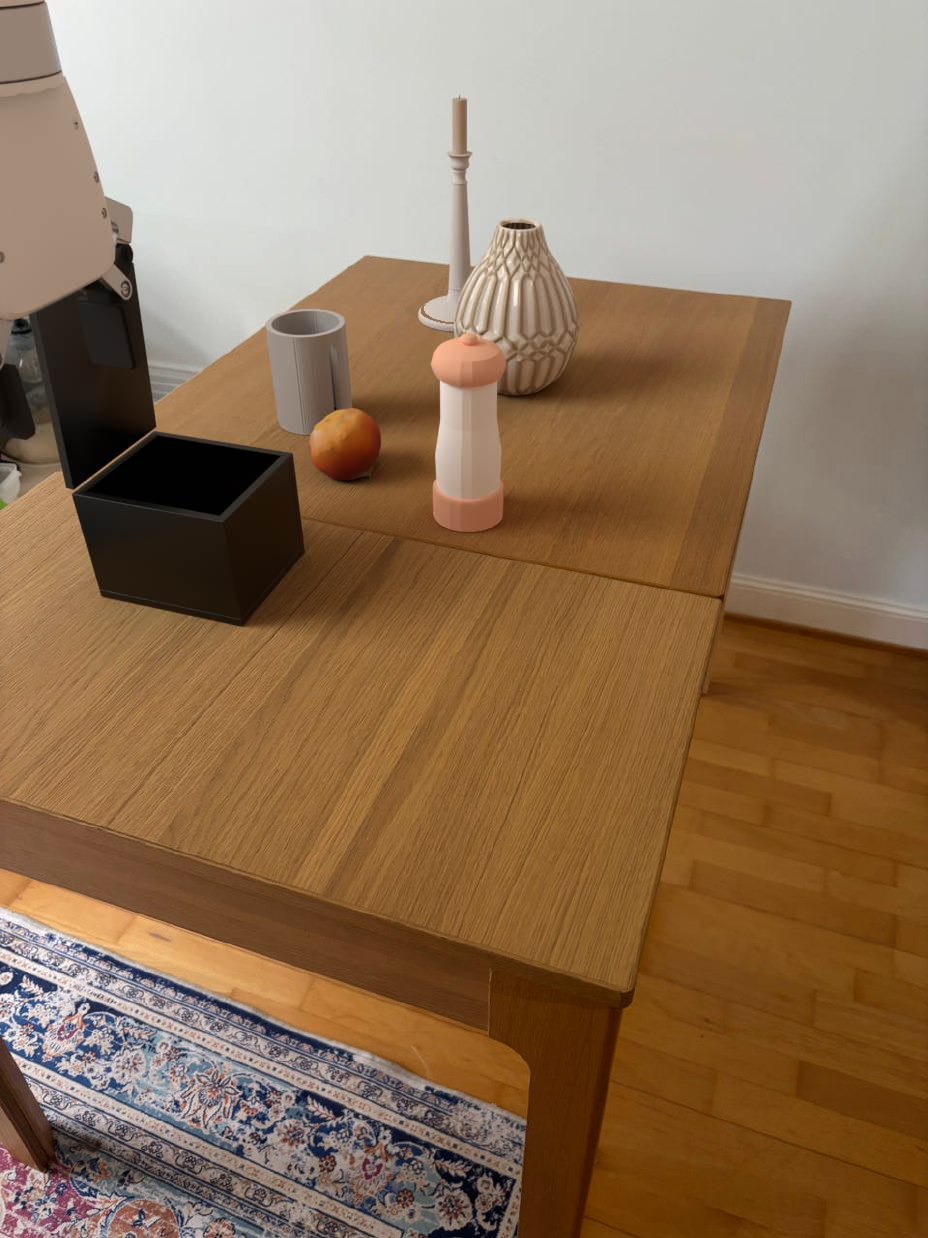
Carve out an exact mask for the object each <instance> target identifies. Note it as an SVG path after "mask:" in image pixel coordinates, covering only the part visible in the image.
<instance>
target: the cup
mask: <svg viewBox="0 0 928 1238" xmlns="http://www.w3.org/2000/svg"><path fill="white" fill-rule="evenodd" d="M346 324H347V323H346V319H345V317H344V316H343V315H342V314H340V313H339V312H335V311H332V310H327V309H321V308H320V309H319V308H300V309H292V310H287V311H284V312H280V313H278V314H274V315H273V316H271V317H270V318H268V319H267V321H265V325H264V326H265V334H266V340H267V341H266V342H267V349H268V350H267V351H268V356H269V362H270V372H271V379H272V387H273V394H274V402H275V408H276V416H277V423H278V425H279V427H280V428H281V429H282V430H284V431H286V432H288V433H291V434H294V435H301V436H310V435H311V433H312V432H313V430H314V428H315V425H316V424H318V423H319V422H320V421H322V420H323V419H324V418H325V417H326V416H327V415H329V414H331V413H333V412H334V411H335V408H336V411H337V410H343V409H350V408H353V402H352V389H351V375H350V363H349V362H350V361H349V350H348V339H347V325H346Z"/></svg>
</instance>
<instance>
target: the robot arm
mask: <svg viewBox="0 0 928 1238" xmlns="http://www.w3.org/2000/svg"><path fill="white" fill-rule="evenodd" d="M53 28H54V27H53V24H52V19H51V15H50V11H49V6H48V2H47V1H46V0H0V436H1V437H5V438H11V439H17V440H21V441H22V440H23V441H27V440H28V441H29V439H31V438H33V437H34V436H35V435H36V430H37V429H36V428H37V427H36V425H35V421H34V418H33V415H32V411H31V408H30V404H29V401H28V398H27V395H26V391H25V388H24V385H23V382H22V378H21V375H20V371H19V369H18V367H17V365H16V364H13V363H5V362H6V357H7V352H8V348H9V344H10V339H11V335H12V329H13V325H14V321H15V320H19V319H23V318H22V317H24V316H27V315H29V314H31V313H33V312H35V311H37V310H39V309H41V308H43V307H45V306H47V305H49V304H51V303H53V302H55V301H57V300H59V299H61V298H63V297H65V296H67V295H69V294H71V293H73V292H75V291H77V290H80V291H81V292H82V293H83V294H85V295H86V296H87V297H82V296H81V297H79V298H77V299H76V301H77V305H78V311H79V315H80V319H81V323H82V327H83V331H84V335H85V339H86V343H87V347H88V351H89V355H90V359H91V361H92V362H93V363H94V364H96V365H101V366H108V367H115V368H122V369H129V370H134V369H136V368H137V367H139V366H140V365H141V360H140V355H139V351H138V346H137V342H136V337H135V333H134V328H133V323H132V319H131V314H130V310H129V305H128V302H124V300H128V299H129V298H130V297H131V295H132V285H131V282H130V281H129V280H128V276H129V272H130V268H131V265H132V263H133V261H134V250H133V248H132V246H131V244H132V239H133V225H134V214H133V213H134V212H133V210H132V208H131V207H130V206H129V205H127V204H124V203H122V202H120V201H118V200H115V199H114V198H113V199H112V198H111V197H108V196H106V195H105V192H104V187H103V185H102V181H101V178H100V174H99V169H98V167H97V163H96V159H95V157H94V153H93V150H92V146H91V144H90V140H89V137H88V134H87V131H86V128H85V125H84V122H83V119H82V116H81V114H80V111H79V107H78V105H77V103H76V99H75V97H74V94H73V92H72V90H71V87H70V85H69V82H68V80H67V77H66V76H64V74H63V69H62V63H61V60H60V56H59V55H60V54H59V51H58V46H57V41H56V37H55V33H54V29H53Z"/></svg>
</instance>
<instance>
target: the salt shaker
mask: <svg viewBox="0 0 928 1238" xmlns="http://www.w3.org/2000/svg"><path fill="white" fill-rule="evenodd" d="M430 367H431V369H432V372H433V373H434V375H435V377H436V379H437V380H438V381H439V416H440V417H439V419H440V420H439V427H438V434H437V440H436V446H435V452H434V459H435V462H434V463H435V477H436V478H435V479H434V481H433V483H432V484H433V485H432V517H433V519H434V521H435V522H436V523H437V524H438V525H440V526H441V527H444V528H446V529H447V530H450V531H456V532H459V533H476V532H483V531H486V530H490V529H492V528H494V527H495V526H497V525H498V524H499V523H500V522H501V521H502V520H503V517H504V493H505V492H504V487H505V485H504V482H503V481H502V479H501V467H502V455H503V454H502V451H503V450H502V446H501V439H500V430H499V425H498V417H497V416H498V415H497V414H498V411H497V410H498V393H497V381H498V380H499V379H500V378H501V377H502V375H503V373H504V371H505V368H506V359H505V355H504V353H503V352H502V350H501V349H500V347H499V346H498V345H497V344H496V343H494V342H492V341H489V340H486V339H483V338H480V337H476V335H475V334H472V333H465V334H463V335H462V336H461V337H458V338H450V339H449V340H446V341H443V342H441V343H440V344H439V345H438V346H437V347H436V349H435V350H434V351H433V355H432V359H431V362H430Z"/></svg>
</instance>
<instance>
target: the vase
mask: <svg viewBox="0 0 928 1238" xmlns="http://www.w3.org/2000/svg"><path fill="white" fill-rule="evenodd" d="M573 292H574V291H573V290H572V286H571V285H570V282H569V280H568V278H567V276H566V275H565V272H564V271H563V268H562V267H561V266H560V263H558V261H557V260H556V258H555V257H554V255H553V254H552V252H551V250H550V249H549V246H548V243H547V239H546V236H545V231H544V227H543V225H542V223H541V222H539V221H537V220H534V219H530V218H518V217H517V218H516V217H515V218H508V219H503V220H500V221H499V222H498V223H497V224H496V226H495V229H494V231H493V235H492V238H491V241H490V243H489V246H488V248H487V250H486V251H485V253H484V254H483V256H481V258H480V259H479V261H478V262H477V263H476V265H475V266H474V268H473V269H472V270H471V274H470V276H469V277H468V279H467V281H466V283H465V285H464V287H463V289H462V292H461V294H460V297H459V300H458V304H457V308H456V312H455V317H454V332H453V337H454V338H458V337H461V336H462V335H463V334H465V333H472V334H475V335H476V337H480V338H483V339H486V340H489V341H492V342H494V343H496V344H497V345H498V346H499V347H500V349H501V350H502V352H503V353H504V355H505V359H506V368H505V371H504V373H503V375H502V377H501V378H500V379H499V380H498V381H497V394H500V395H505V396H506V395H507V396H524V395H525V396H526V395H531V394H535V393H537V392H540V391H542V390H543V389H545V388H547V387H548V386H549V385H552V383H554V382H555V381H556V380H557V379H558V378H559V377H560V376H562V374H563V373H564V371H565V370H566V368H567V367H568V365H569V364H570V361H571V360H572V358H573V355H574V354H575V351H576V350H575V349H576V347H577V344H578V343H577V342H578V338H579V331H580V321H579V313H578V307H577V302H576V299H575V296H574V293H573ZM454 338H453V339H454Z"/></svg>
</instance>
